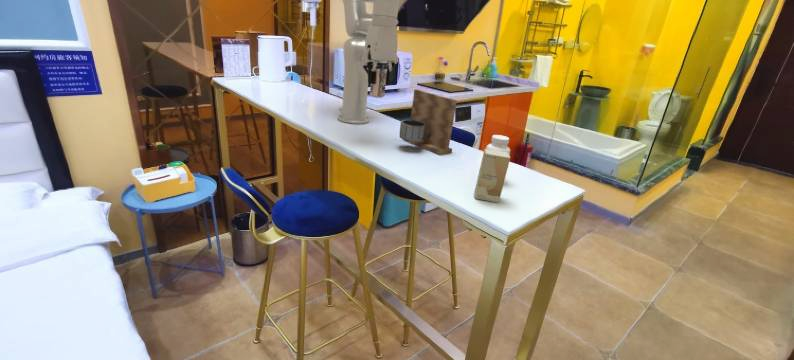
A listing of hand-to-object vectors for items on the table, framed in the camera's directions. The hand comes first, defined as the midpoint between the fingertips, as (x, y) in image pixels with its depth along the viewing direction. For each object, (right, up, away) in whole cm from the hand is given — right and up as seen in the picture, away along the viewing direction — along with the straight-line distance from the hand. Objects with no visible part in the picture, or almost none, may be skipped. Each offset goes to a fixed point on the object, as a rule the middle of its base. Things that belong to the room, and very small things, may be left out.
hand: (378, 82), depth 123 cm
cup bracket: (+13, -20, +8) cm, 25 cm away
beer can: (0, -4, +2) cm, 5 cm away
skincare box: (+29, -36, -25) cm, 53 cm away
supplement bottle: (+33, -32, -13) cm, 47 cm away
